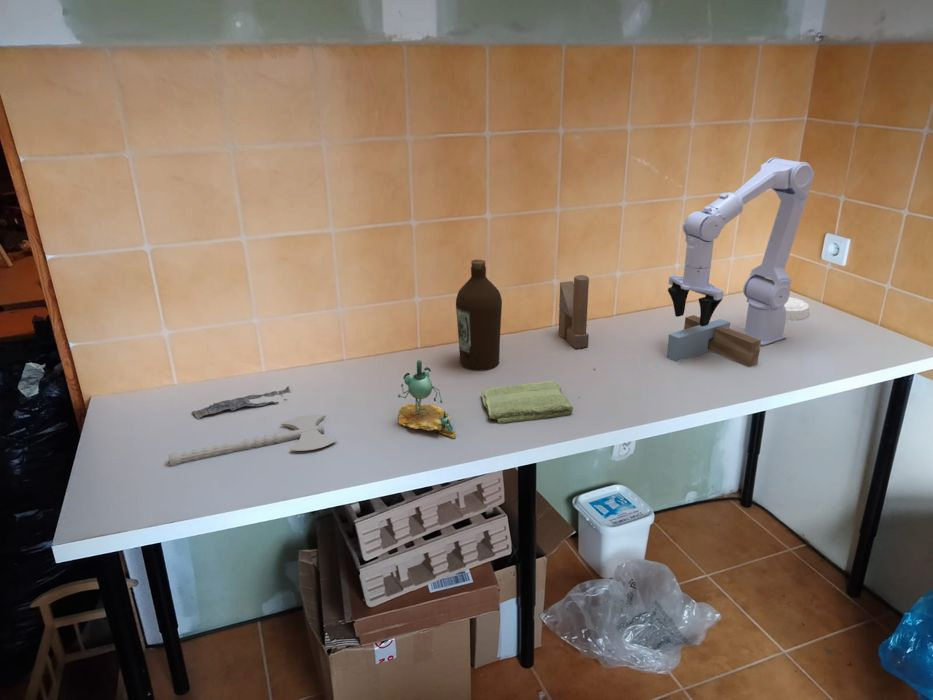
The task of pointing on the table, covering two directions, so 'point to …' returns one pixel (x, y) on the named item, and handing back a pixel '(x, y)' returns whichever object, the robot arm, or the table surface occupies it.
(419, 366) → the frog figurine
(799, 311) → the mooncake
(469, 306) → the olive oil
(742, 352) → the walnut beam
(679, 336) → the slate crossbar
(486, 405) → the washcloth
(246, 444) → the axe
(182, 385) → the table surface
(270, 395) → the driftwood
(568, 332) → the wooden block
